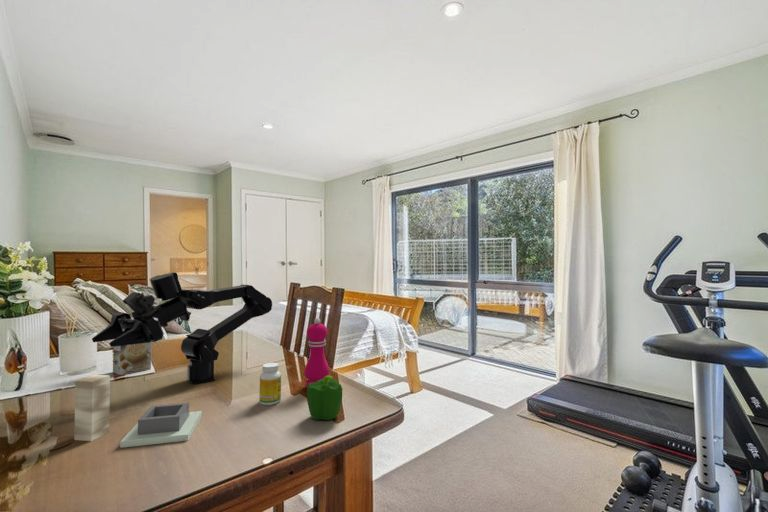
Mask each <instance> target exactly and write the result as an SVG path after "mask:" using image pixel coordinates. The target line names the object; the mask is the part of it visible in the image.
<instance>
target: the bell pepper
mask: <svg viewBox="0 0 768 512" xmlns="http://www.w3.org/2000/svg"><path fill="white" fill-rule="evenodd" d="M342 399H343V386H342V384H340V383H339V381H338V380H337V379H334V377H333V376H332V375H330V374H329V375H327V376H325V377H324V379H321V380H319V381H317V383H316V382H313V383H309V384H308V387H307V388H306V402H307V405H308V411H309V414H310V416H311V417H312V419H314V420H324V421H325V420H326V421H330V420H335V418H337V416H338V415H339V413H340V410H341V406H342Z"/></svg>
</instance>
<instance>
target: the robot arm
mask: <svg viewBox="0 0 768 512" xmlns="http://www.w3.org/2000/svg"><path fill="white" fill-rule="evenodd" d="M178 276H179V275H178V273H177V272H169V273H165V274H161V275H160V274H159V275H155V276H153V277H150V278H149V282H150V285H151V287H152V290H153V293H154V296H155V297H154V296H153V295H152V294H151V295H150V294H146V295H144V293H141V292H134V291H133V292H131V293H130V294H129V295H128V296H126V297H125V298H124V299H122V302H123V304H124V305H127V306H128V307H129V309H131V311H132V312H131V314H130V313H127V312H123V311H119V312H115V313H114V314H112V315H111V318H110V323H109V325H107V326H106V327H105V328H104V329H102V330H101V331H100V332H98V333H97V334H96V335H95V336H93V337H92V338H91V340H92V343H99V342H105V341H110V340H111V341H110V342H109V346H110V347H111V348H114V347H115V346H123V345H131V344H140V343H150V342H152V343H156V342H159V341H160V340H162V339H163V336H164V335H165V333H164V330H163V328H166V327H168V326H169V325H168V324H169V323H171V322H172V321H175V320H177V319H179V320H180V321H183V322H189V321H190V318H191V314H192V312H191V311H188V309H192V310H204V309H207V308H209V307H210V306H212V305H214V304H216V303H219V302H224V301H229V300H235V299H240V298H241V299H242V301H243V303H244V305H243V307H242V308H241V309H239V310H237V311H236V312H234V313H233V314H231V315H229V316H227V317H226V318H224V319H223V320H222V321H220V322H219V323H217V324H215V325H214V326H212V327H211V328H209V329H203V328H197V329H195V330H194V331H192V332H191V333H188V334H186V337H185V338H184V339H183V340H182V341H181V345H180V351H181V352H182V353H183V354H184V356H185V358H186V360H189V365H187V370H186V373H187V377H186V378H187V380H188V381H189V383H191V384H192V385H196V383H197V384H200V383H201V382H202V383H206V382H205V381H207V382H212V381H216V380H217V379H216V377H215V361H217V360H218V357H219V354H220V352H219V351H217V350H216V349H215V348H216V346H217V344H218V342H219V341H221V340H222V339H223V338H225V337H226V336H228V335H229V334H231V333H232V332H234V331H235V330H236V329H238V328H240V327H241V326H242V325H244V324H246V323H247V322H249V321H250V320H251V319H253V318H254V319H255V318H257V317H261V316H264V315H266V314H268V313H270V312H271V311H272V309H273V308H272V307H273V301H272V298H270V297H268V296H267V295H265V294H264V293H262V292H261V291H259V290H257V289H256V288H255V287H254V286H253V285H251V284H240V285H236V286H235V285H234V286H229V287H223V288H217V289H209V290H208V289H186V288H184V289H183V288H182V286H181V283H180V280H179V277H178ZM156 299H158V300H161V301H163V302H162V303H159V304H157V305H154V302H155V300H156ZM164 301H165V302H164ZM132 317H133V318H132ZM215 379H216V380H215ZM211 380H212V381H211Z"/></svg>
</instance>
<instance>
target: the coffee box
mask: <svg viewBox="0 0 768 512" xmlns="http://www.w3.org/2000/svg"><path fill="white" fill-rule="evenodd" d="M152 343H153V342H150V343H140V344H131V345H123V346H115V347H113V357H112V358H113V361H112V372H113V373H114V374H117V375H119V376H123V375H128V374H133V373H138V372H143V371H147V370H151V369H152V345H153V344H152Z"/></svg>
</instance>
